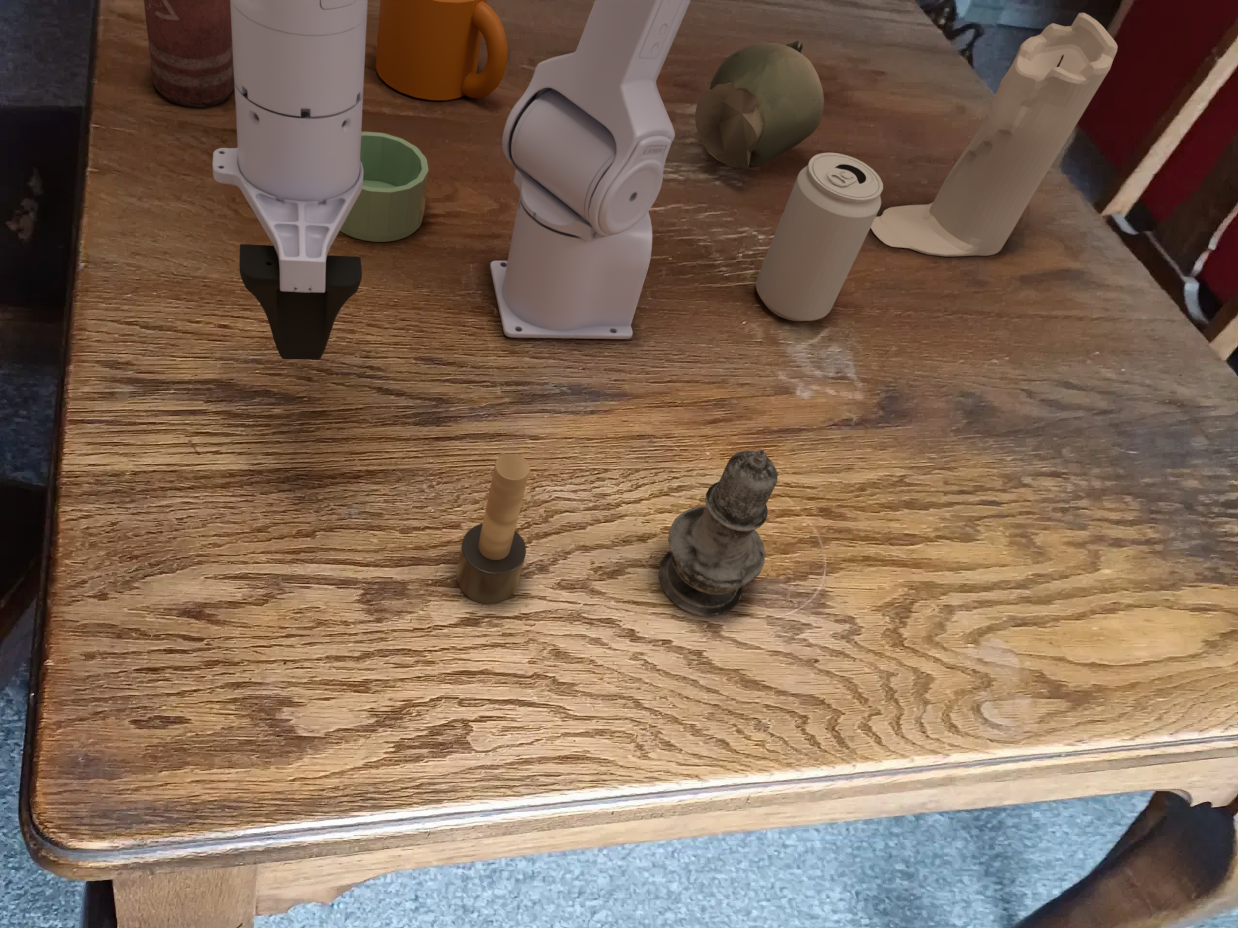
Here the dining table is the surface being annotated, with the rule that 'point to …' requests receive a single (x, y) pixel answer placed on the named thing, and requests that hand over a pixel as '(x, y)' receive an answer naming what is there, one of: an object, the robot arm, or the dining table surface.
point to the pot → (388, 190)
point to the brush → (496, 537)
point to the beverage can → (819, 236)
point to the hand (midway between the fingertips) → (299, 306)
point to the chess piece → (720, 539)
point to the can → (191, 50)
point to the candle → (1009, 145)
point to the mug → (439, 48)
